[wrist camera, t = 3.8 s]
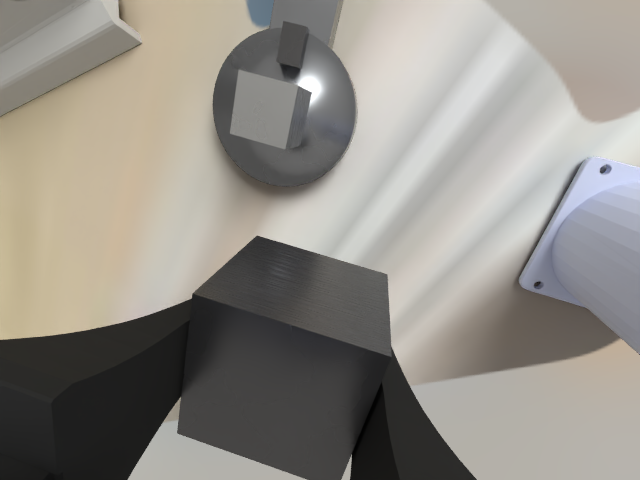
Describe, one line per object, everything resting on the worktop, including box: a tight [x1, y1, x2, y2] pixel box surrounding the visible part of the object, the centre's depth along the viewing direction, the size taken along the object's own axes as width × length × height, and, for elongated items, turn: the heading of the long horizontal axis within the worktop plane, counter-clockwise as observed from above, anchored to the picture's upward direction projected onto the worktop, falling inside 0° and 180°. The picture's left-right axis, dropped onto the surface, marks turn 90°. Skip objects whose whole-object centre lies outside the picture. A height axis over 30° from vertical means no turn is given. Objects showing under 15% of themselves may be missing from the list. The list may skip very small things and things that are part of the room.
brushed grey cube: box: [177, 236, 392, 480], centre depth 12 cm, size 6×6×5 cm
